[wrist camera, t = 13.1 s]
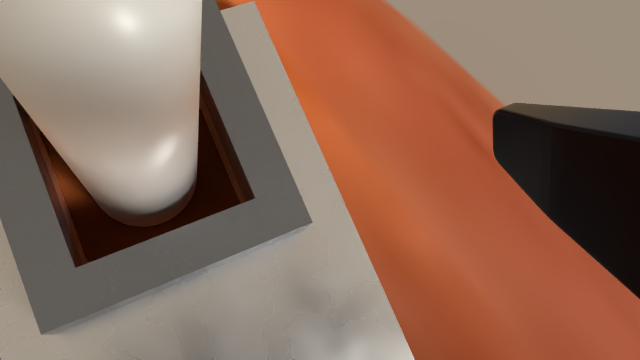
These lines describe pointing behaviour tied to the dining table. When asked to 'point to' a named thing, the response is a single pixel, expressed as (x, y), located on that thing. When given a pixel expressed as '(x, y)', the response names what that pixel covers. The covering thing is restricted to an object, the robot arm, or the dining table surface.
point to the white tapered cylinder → (112, 95)
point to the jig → (199, 240)
